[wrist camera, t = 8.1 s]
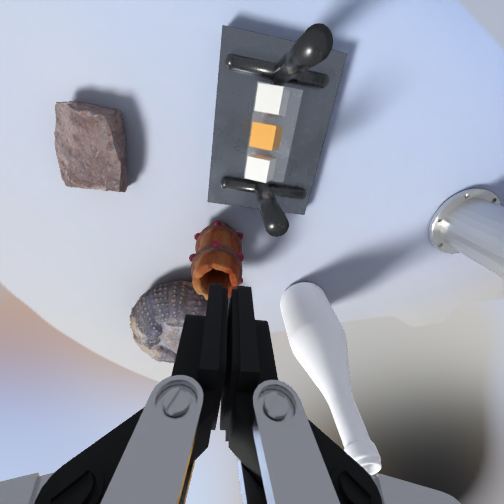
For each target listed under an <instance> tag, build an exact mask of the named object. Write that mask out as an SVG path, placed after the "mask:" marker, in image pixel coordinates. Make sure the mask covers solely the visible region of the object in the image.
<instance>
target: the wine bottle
mask: <svg viewBox="0 0 504 504" xmlns="http://www.w3.org/2000/svg"><path fill="white" fill-rule="evenodd" d="M280 308H281V312H282V316H283V319H284V323H285V327H286V331H287V335H288V338H289V343H290V346H291V349H292V352H293V353H294V355H295V356H296V358H297V360H298V361H299V362H300V364H301V365H302V366H303V368H304V369H305V370H306V372H307V373H308V374H309V376H310V377H311V378H312V380H313V381H314V383H315V384H316V385H317V387H318V388H319V389H320V391H321V392H322V394H323V395H324V397H325V399H326V400H327V402H328V404H329V406H330V409H331V412H332V414H333V417H334V420H335V423H336V426H337V428H338V431H339V434H340V437H341V439H342V442H343V445H344V447H345V449H344V451H345V452H346V453H347V454H348V455H349V456H350V457H352V458H353V459H354V460H355V461H356V462H357V463H358V464H360V465H361V466H362V467H363V468H364V469H365V470H366V471H367V472H368V474H370V475H374V474H376V473H377V472H379V471H380V470H381V463H380V462H381V458H380V455H379V453H378V451H377V448H376V446H375V444H374V443H373V442H372V441H371V440H370V438H369V435H368V433H367V430H366V427H365V425H364V423H363V420H362V418H361V415H360V413H359V410H358V408H357V406H356V403H355V401H354V398H353V395H352V391H351V385H350V374H349V364H348V351H347V341H346V335H345V332H344V329H343V328H342V326H341V324H340V322H339V320H338V318H337V316H336V314H335V312H334V310H333V309H332V307H331V305H330V303H329V301H328V299H327V297H326V295H325V293H324V291H323V290H322V289H321V288H320V287H319V286H317V285H315V284H313V283H309V282H301V283H297V284H294V285H292V286H290V287H289V288H288V289H287V290H286V291H285V292H284V293H283V295H282V297H281V300H280Z"/></svg>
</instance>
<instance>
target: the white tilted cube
mask: <svg viewBox="0 0 504 504" xmlns="http://www.w3.org/2000/svg"><path fill="white" fill-rule="evenodd" d="M289 94H290V92H289V91H288V90H287V89H286V88H285V87H282V86H276V85H269V84H262V83H258V88H257V95H256V102H255V109H254V111H258V112H262V113H266V114H272V115H278V116H284V117H285V114H286V109H287V104H288V99H289Z"/></svg>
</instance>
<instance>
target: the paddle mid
mask: <svg viewBox="0 0 504 504" xmlns="http://www.w3.org/2000/svg"><path fill="white" fill-rule="evenodd" d="M282 130H283V127H281V126H276V125H270V124H265V123H259V122H253V123H252V129H251V136H250V143H249V146H251V147H255V148H260V149H265V150H270V151H273V150H278V149H279V145H280V140H281V135H282Z"/></svg>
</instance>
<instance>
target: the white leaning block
mask: <svg viewBox="0 0 504 504" xmlns="http://www.w3.org/2000/svg"><path fill="white" fill-rule="evenodd" d="M276 161H277V158H273V157H268V156H263V155H258V154H255V155H250V156H248V157H247V164H246V171H245V178H246V179H250V180H254V181H259V182H263V183H267V182H269V181H270V180H272V179H273V176H274V171H275V166H276Z"/></svg>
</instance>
